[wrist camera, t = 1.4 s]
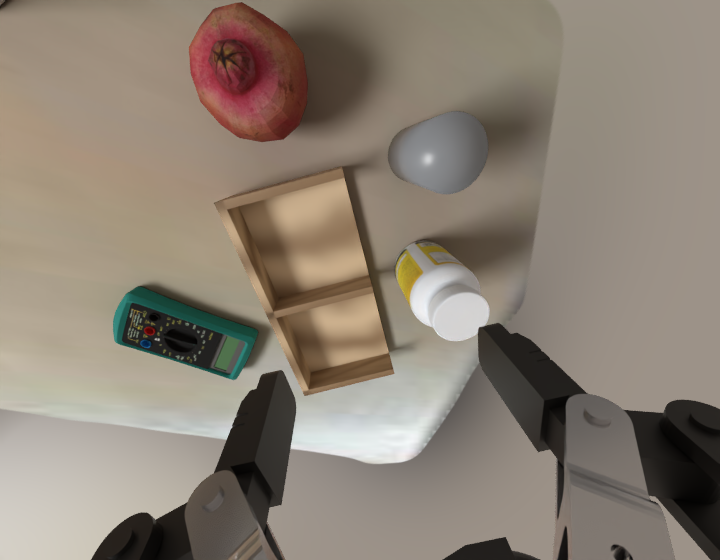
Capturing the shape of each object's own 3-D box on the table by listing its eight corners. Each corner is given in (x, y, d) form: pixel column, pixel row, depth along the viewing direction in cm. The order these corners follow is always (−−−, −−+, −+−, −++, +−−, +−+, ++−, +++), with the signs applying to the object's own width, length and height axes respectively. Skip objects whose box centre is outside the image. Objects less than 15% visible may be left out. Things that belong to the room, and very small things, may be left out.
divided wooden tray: (230, 196, 27) (214, 202, 24) (341, 166, 27) (342, 168, 23) (307, 372, 38) (304, 395, 34) (388, 352, 37) (394, 373, 34)
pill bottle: (396, 293, 34) (424, 357, 23) (389, 244, 31) (417, 291, 20) (448, 283, 34) (499, 342, 23) (445, 233, 31) (502, 274, 20)
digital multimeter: (134, 280, 31) (115, 292, 28) (261, 328, 35) (255, 342, 32) (122, 329, 33) (103, 344, 31) (242, 368, 37) (235, 385, 34)
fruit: (273, 163, 26) (240, 168, 17) (199, 90, 24) (114, 50, 14) (331, 97, 25) (329, 64, 16) (259, 8, 22) (204, -97, 13)
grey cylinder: (383, 133, 26) (408, 123, 17) (434, 119, 26) (486, 101, 17) (393, 186, 28) (420, 202, 19) (440, 174, 28) (489, 183, 19)
